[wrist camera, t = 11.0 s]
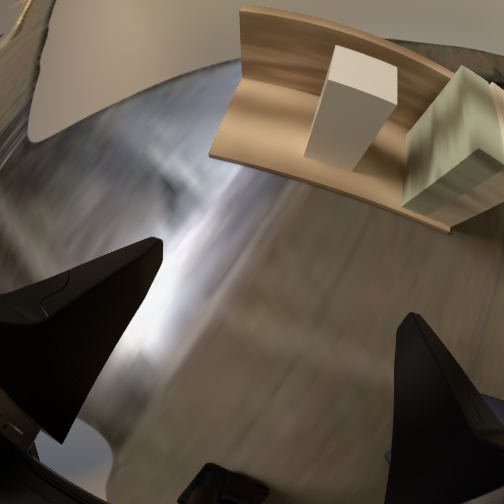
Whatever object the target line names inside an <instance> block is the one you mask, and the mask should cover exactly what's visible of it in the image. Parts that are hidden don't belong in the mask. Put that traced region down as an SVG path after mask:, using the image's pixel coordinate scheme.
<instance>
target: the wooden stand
mask: <svg viewBox="0 0 504 504" xmlns="http://www.w3.org/2000/svg"><path fill="white" fill-rule="evenodd" d="M239 15H240V37H241V63H242V80H241V82H240V84H239V86H238V88H237V90H236V92H235V94H234V96H233V99H232V101H231V103H230V105H229V107H228V109H227V112H226V114H225V116H224V118H223V121H222V123H221V125H220V127H219V130H218V132H217V134H216V137H215V139H214V141H213V144H212V146H211V148H210V151H209V153H208V154H209V157H212V158H217V159H221V160H225V161H229V162H233V163H237V164H241V165H245V166H249V167H253V168H257V169H260V170H264V171H268V172H271V173H275V174H279V175H282V176H286V177H289V178H293V179H296V180H299V181H303V182H306V183H309V184H313V185H316V186H319V187H322V188H325V189H328V190H332V191H335V192H338V193H341V194H344V195H347V196H350V197H353V198H356V199H358V200H361V201H364V202H367V203H370V204H373V205H375V206H378V207H381V208H384V209H386V210H389V211H392V212H394V213H397V214H400V215H402V216H405V217H407V218H410V219H412V220H415V221H417V222H420V223H422V224H425V225H427V226H430V227H432V228H434V229H437V230H439V231H442V232H444V233H446V234H447V233H449V232H450V227H452V226H454V225H457V224H459V223H461V222H463V221H465V220H467V219H469V218H471V217H474V216H476V215H478V214H480V213H482V212H484V211H486V210H488V209H490V208H492V207H494V206H496V205H498V204H500V203H502V202H504V90H502V89H501V88H500V87H498V86H497V85H496V84H494V83H493V82H492V83H491V84H490V85H489V84H488V82H487V81H486V80H484V79H483V78H481V77H480V76H478V75H477V74H475V73H474V72H472V71H471V70H469V69H467V68H466V67H464V66H463V65H461V67H460V68H459V69H458V71H457V72H456V73H455V74H454V73H453V72H451V71H449V70H447V69H446V68H444V67H442V66H440V65H438V64H436V63H435V62H433V61H431V60H429V59H427V58H425V57H423V56H421V55H419V54H417V53H414V52H412V51H410V50H408V49H406V48H403V47H401V46H399V45H397V44H394V43H392V42H389V41H387V40H384V39H382V38H379V37H377V36H374V35H371V34H368V33H366V32H363V31H360V30H357V29H354V28H351V27H348V26H345V25H341V24H338V23H335V22H331V21H327V20H324V19H320V18H316V17H312V16H308V15H303V14H299V13H294V12H289V11H284V10H278V9H272V8H265V7H259V6H251V5H243V7H242V8H241V9H240V11H239ZM336 45H338V46H341V47H344V48H347V49H350V50H353V51H356V52H359V53H362V54H365V55H368V56H370V57H373V58H376V59H378V60H381V61H383V62H386V63H388V64H390V65H393V66H395V67H397V106H396V107H395V109H394V110H393V112H392V113H391V115H390V116H389V118H388V119H387V121H386V122H385V124H384V125H383V127H382V128H381V130H380V131H379V133H378V134H377V136H376V137H375V139H374V140H373V142H372V143H371V144H370V146H369V147H368V149H367V150H366V152H365V153H364V155H363V156H362V158H361V159H360V160H359V162H358V163H357V165H356V166H355V168H354V169H353V170H352V172H351V171H348V170H345V169H342V168H339V167H336V166H333V165H330V164H327V163H324V162H321V161H318V160H314V159H311V158H308V157H305V156H304V152H305V148H306V145H307V141H308V137H309V133H310V129H311V126H312V122H313V119H314V115H315V112H316V109H317V106H318V102H319V99H320V96H321V92H322V89H323V86H324V83H325V79H326V76H327V73H328V69H329V66H330V62H331V59H332V56H333V52H334V49H335V46H336Z"/></svg>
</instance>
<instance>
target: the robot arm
mask: <svg viewBox="0 0 504 504" xmlns="http://www.w3.org/2000/svg"><path fill="white" fill-rule="evenodd" d="M162 261H163V241H162V240H161V239H159V238H155V237H149V238H147V239H144V240H141V241H139V242H136V243H134V244H131V245H128V246H126V247H123V248H121V249H118V250H116V251H113V252H111V253H108V254H106V255H103V256H101V257H98V258H96V259H93V260H91V261H89V262H86V263H84V264H81V265H79V266H77V267H74V268H72V269H71V270H67V271H65V272H62V273H60V274H58V275H55V276H53V277H50V278H48V279H45V280H42V281H40V282H37V283H34V284H31V285H28V286H26V287H23V288H20V289H17V290H14V291H12V292H9V293H6V294H1V295H0V504H110V503H108V502H106V501H104V500H102V499H100V498H98V497H96V496H94V495H93V494H91V493H89V492H87V491H85V490H84V489H82V488H80V487H78V486H77V485H75V484H73V483H72V482H70V481H68V480H67V479H65V478H64V477H62V476H61V475H59V474H57V473H56V472H55V471H53V470H52V469H50V468H49V467H47V466H46V465H45V464H43V463H41V462H40V460H39V456H38V453H37V450H36V446H35V442H34V441H35V439H36V437H37V435H38V433H39V432H40V430H41V431H42V432H44V433H45V434H46V435H48V436H49V437H51V438H52V439H54V440H55V441H57V442H58V443H60V444H63V442H64V440H65V438H66V436H67V434H68V432H69V430H70V428H71V426H72V424H73V422H74V421H75V419H76V417H77V415H78V413H79V411H80V409H81V407H82V405H83V403H84V401H85V400H86V398H87V395H88V394H89V392H90V390H91V388H92V386H93V385H94V383H95V381H96V379H97V377H98V376H99V374H100V372H101V370H102V369H103V367H104V365H105V363H106V362H107V360H108V358H109V356H110V355H111V353H112V351H113V350H114V348H115V346H116V345H117V343H118V341H119V340H120V338H121V336H122V335H123V333H124V331H125V330H126V328H127V326H128V325H129V323H130V321H131V320H132V318H133V317H134V315H135V313H136V312H137V310H138V309H139V307H140V305H141V304H142V302H143V300H144V299H145V297H146V295H147V293H148V291H149V289H150V287H151V285H152V283H153V281H154V278H155V276H156V274H157V272H158V270H159V268H160V266H161V264H162ZM469 380H470V379H469V378H468V376H467V375H466V374H465V372H464V371H463V369H462V368H461V367H460V365H459V364H458V363H457V361H456V360H455V358H454V357H453V356H452V354H451V353H450V352H449V351H448V349H447V348H446V347H445V345H444V344H443V343H442V341H441V340H440V339H439V338H438V336H437V335H436V334H435V332H434V331H433V330H432V329H431V327H430V326H429V325H428V324H427V322H426V321H425V320H424V319H423V318H422V316H421V315H420V314H417V313H413V312H410V313H408V314H407V316H406V317H405V319H404V320H403V321H402V323H401V324H400V325H399V327H398V329H397V333H396V350H395V364H394V416H393V435H392V448H391V458H390V467H389V472H390V473H389V475H388V482H387V489H386V496H385V502H384V504H504V425H503V424H502V423H501V421H500V420H499V419H498V417H497V416H496V415H495V413H494V412H493V411H492V409H491V408H490V407H489V405H488V404H487V403H486V401H485V400H484V399H483V397H482V396H481V395H480V393H479V392H478V390H477V389H476V388H475V386H474V385H473V383H472V382H471V381H469ZM207 467H210V468H212V469H208V468H207ZM263 491H265V492H266V493H262V492H263ZM269 494H270V491H269V489H268V488H266V487H264V486H261V485H259V484H256V483H255V482H254V481H251V480H249V479H246V478H244V477H242V476H240V475H237V474H235V473H233V472H228V471H226V470H224V469H222V468H220V467H218V466H216V465H214V464H212V463H206V464H205V465H204V466H203V468H202V469H201V470H200V471H199V473H198V474H197V475H196V477H195V478H194V479H193V480H192V482H191V483H190V484H189V485H188V487H187V488H186V489H185V490H184V492H183V493H182V494H181V495H180V496H179V498H178V500H177V503H178V504H261V503H262V502H263V501H264V500H265V499H266V498H267V497H268V495H269ZM182 501H184V502H182Z"/></svg>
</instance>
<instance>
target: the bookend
mask: <svg viewBox="0 0 504 504" xmlns="http://www.w3.org/2000/svg"><path fill="white" fill-rule="evenodd" d="M396 106H397V67H395V66H393V65H390V64H388V63H386V62H383V61H381V60H378V59H376V58H373V57H370V56H368V55H365V54H362V53H359V52H356V51H353V50H350V49H347V48H344V47H341V46H338V45H336V46H335V49H334V52H333V56H332V59H331V62H330V66H329V69H328V73H327V76H326V79H325V83H324V86H323V89H322V92H321V96H320V99H319V102H318V106H317V109H316V112H315V115H314V119H313V122H312V126H311V129H310V133H309V137H308V141H307V145H306V148H305V152H304V156H305V157H308V158H311V159H314V160H318V161H321V162H324V163H327V164H330V165H333V166H336V167H339V168H342V169H345V170H348V171H351V172H352V170H353V169H354V168H355V166H356V165H357V163H358V162H359V160H360V159H361V158H362V156H363V155H364V153H365V152H366V150H367V149H368V147H369V146H370V144H371V143H372V142H373V140H374V139H375V137H376V136H377V134H378V133H379V131H380V130H381V128H382V127H383V125H384V124H385V122H386V121H387V119H388V118H389V116H390V115H391V113H392V112H393V110H394V109H395V107H396Z"/></svg>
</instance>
